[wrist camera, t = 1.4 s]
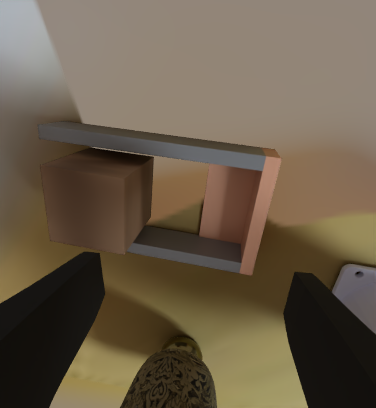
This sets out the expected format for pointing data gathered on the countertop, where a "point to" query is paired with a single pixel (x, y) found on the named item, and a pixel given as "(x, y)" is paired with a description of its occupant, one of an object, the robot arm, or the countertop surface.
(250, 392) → the countertop surface
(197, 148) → the channel
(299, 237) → the countertop surface
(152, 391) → the cup
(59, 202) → the walnut block
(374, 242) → the countertop surface
